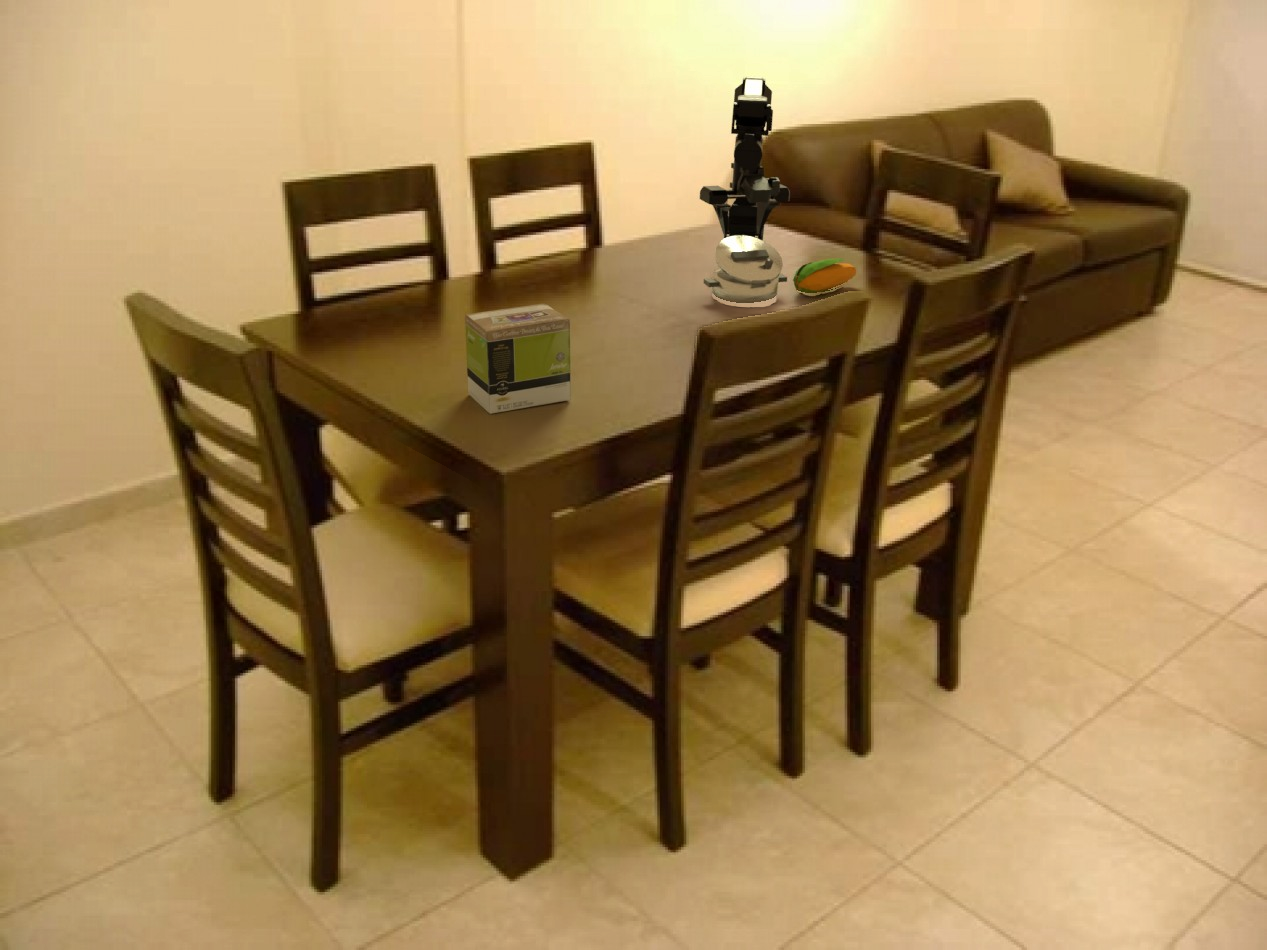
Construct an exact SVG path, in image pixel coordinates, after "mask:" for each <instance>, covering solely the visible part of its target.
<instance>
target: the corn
mask: <svg viewBox="0 0 1267 950" xmlns="http://www.w3.org/2000/svg"><path fill="white" fill-rule="evenodd" d="M843 261H844V258H827V259H821V260H818V261H815V262H808V263H805V264H802V265H801V266H800V267H799V268H798V269H797V270H796V271H795V274H794V276H793V279H792V281H793V285H794V288H795V291H797V290H798V291H801V292H805V293H817V292H825V291H830V290H828V289H831V288H833V287H836V286H838V285H841V284H843V283H845V282H846V283H848V280H849V281H850V280H851V279H853V278H854V276H856V275H857V268H856V267H855V266H853V265H852V264H851V263H841V262H843ZM846 283H845V284H846ZM843 285H844V284H843ZM841 286H842V285H841ZM835 289H836V288H835ZM831 290H833V289H831Z"/></svg>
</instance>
